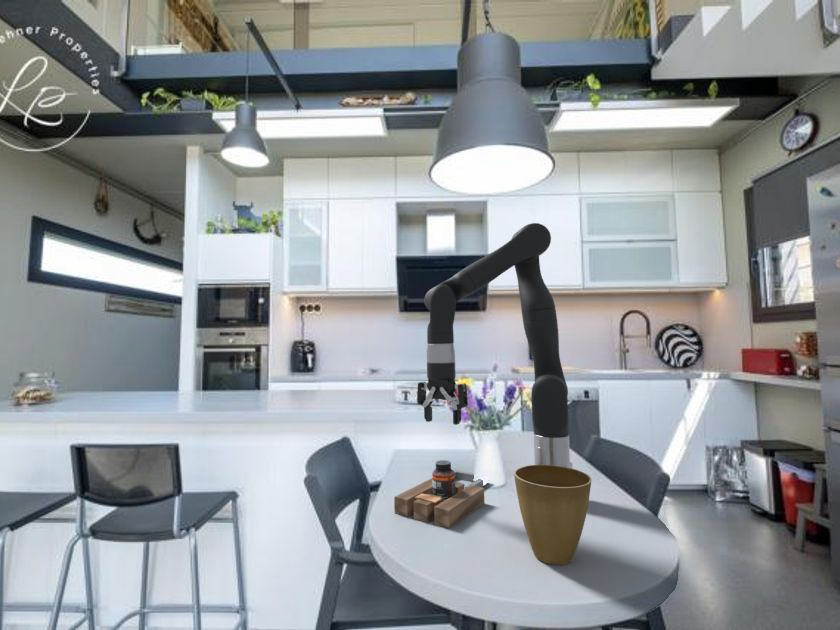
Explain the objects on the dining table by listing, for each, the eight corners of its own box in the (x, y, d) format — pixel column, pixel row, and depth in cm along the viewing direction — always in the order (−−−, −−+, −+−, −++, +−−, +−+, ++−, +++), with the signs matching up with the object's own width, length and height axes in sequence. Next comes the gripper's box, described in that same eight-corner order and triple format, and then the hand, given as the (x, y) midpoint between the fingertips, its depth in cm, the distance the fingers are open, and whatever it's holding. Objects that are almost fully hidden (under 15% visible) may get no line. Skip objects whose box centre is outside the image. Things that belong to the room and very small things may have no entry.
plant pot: (580, 585, 76) (577, 492, 77) (503, 560, 85) (501, 477, 86) (603, 551, 88) (600, 471, 88) (533, 532, 97) (531, 459, 97)
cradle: (489, 483, 130) (489, 476, 130) (469, 495, 120) (469, 488, 120) (454, 476, 136) (454, 469, 137) (433, 487, 127) (433, 480, 127)
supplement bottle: (454, 501, 115) (453, 458, 116) (457, 510, 109) (456, 465, 110) (432, 502, 115) (431, 459, 116) (433, 511, 109) (432, 465, 110)
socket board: (484, 503, 114) (484, 486, 114) (448, 528, 99) (448, 509, 99) (433, 491, 123) (433, 476, 123) (394, 512, 108) (394, 495, 109)
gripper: (471, 360, 113) (473, 422, 112) (426, 359, 121) (427, 418, 120) (457, 362, 107) (458, 428, 106) (410, 361, 115) (412, 422, 114)
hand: (442, 422), depth 113 cm, fingers open, 8 cm apart
